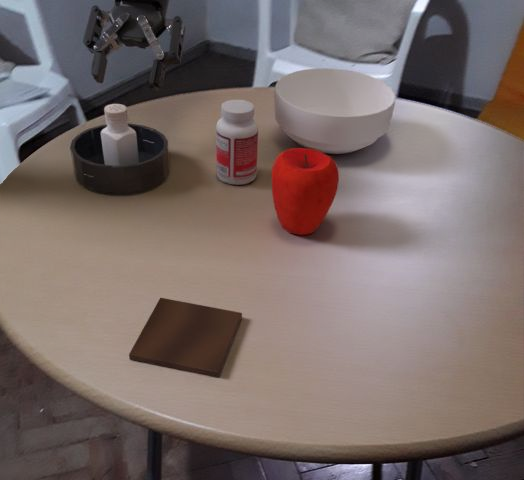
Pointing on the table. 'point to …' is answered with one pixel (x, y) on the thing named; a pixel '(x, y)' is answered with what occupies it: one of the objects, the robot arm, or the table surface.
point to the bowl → (333, 109)
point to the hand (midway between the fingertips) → (125, 84)
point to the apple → (303, 188)
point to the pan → (120, 176)
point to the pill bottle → (237, 143)
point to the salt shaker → (118, 137)
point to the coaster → (187, 337)
